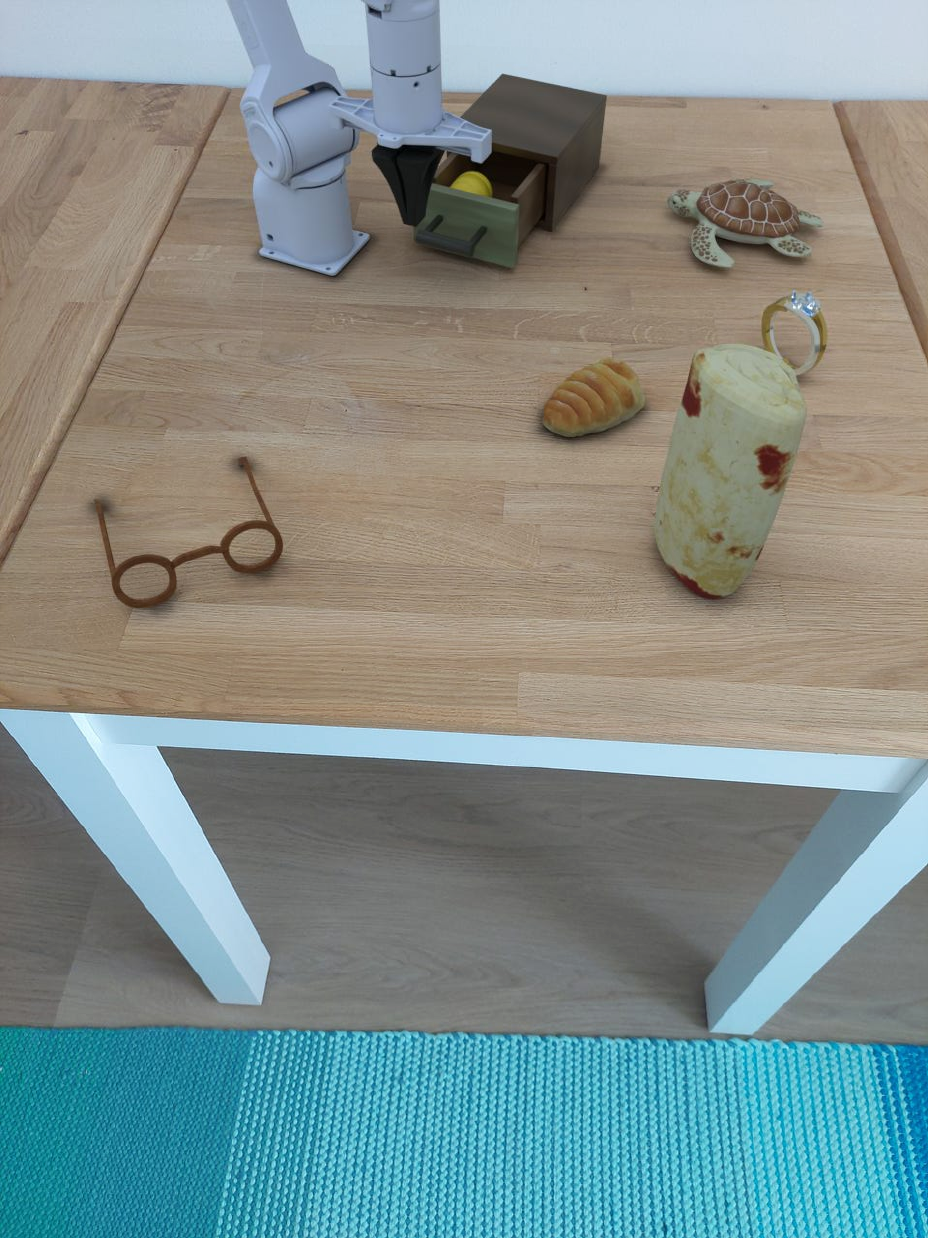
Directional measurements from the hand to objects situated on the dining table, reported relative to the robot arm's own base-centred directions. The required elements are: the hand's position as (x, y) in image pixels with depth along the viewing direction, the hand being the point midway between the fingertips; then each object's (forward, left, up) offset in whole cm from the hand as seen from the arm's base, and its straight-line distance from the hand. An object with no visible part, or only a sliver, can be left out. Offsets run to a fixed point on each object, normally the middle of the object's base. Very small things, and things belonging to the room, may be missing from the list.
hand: (414, 219), depth 85 cm
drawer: (0, +15, -9) cm, 17 cm away
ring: (+35, +7, -11) cm, 37 cm away
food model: (+35, -20, -11) cm, 42 cm away
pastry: (+21, -6, -11) cm, 24 cm away
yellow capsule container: (0, +15, -8) cm, 17 cm away
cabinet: (0, +27, -10) cm, 29 cm away
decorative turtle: (+25, +28, -11) cm, 39 cm away
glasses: (-4, -34, -11) cm, 36 cm away
